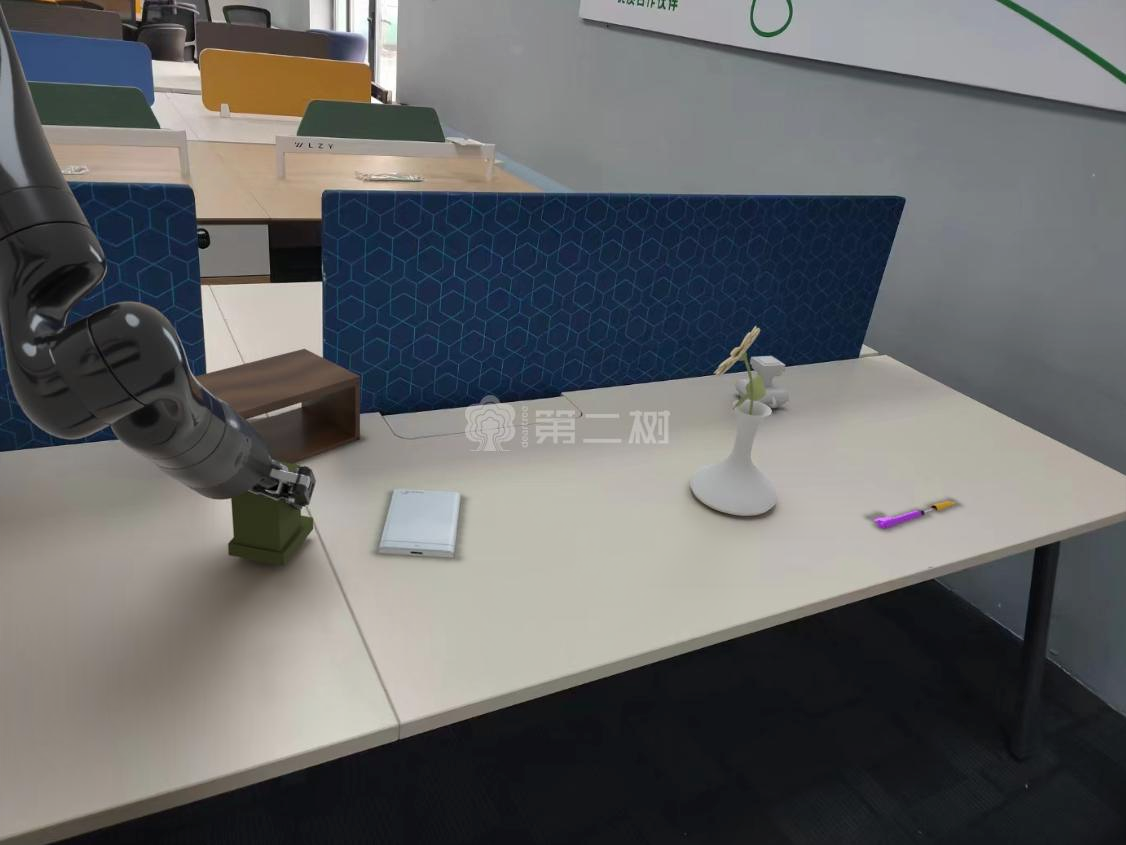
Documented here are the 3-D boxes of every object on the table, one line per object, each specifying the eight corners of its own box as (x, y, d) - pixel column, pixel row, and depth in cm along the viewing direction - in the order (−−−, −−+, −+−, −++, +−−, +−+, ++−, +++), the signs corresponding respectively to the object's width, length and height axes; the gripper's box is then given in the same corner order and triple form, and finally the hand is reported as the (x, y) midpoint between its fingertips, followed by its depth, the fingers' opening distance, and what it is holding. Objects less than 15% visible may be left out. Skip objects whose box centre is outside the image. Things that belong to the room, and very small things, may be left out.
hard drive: (393, 487, 103) (378, 545, 91) (461, 492, 103) (454, 550, 92) (393, 499, 103) (378, 558, 92) (460, 503, 104) (453, 562, 93)
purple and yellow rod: (883, 531, 108) (956, 508, 117) (883, 523, 108) (957, 499, 117) (865, 525, 111) (939, 502, 119) (866, 517, 110) (940, 494, 119)
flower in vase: (720, 471, 119) (757, 302, 108) (790, 506, 112) (836, 330, 101) (662, 498, 111) (696, 318, 100) (733, 538, 104) (778, 350, 93)
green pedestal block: (284, 566, 86) (281, 490, 82) (228, 555, 86) (223, 479, 83) (313, 528, 92) (312, 457, 88) (261, 519, 93) (258, 447, 89)
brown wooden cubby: (172, 455, 107) (165, 383, 102) (306, 413, 121) (304, 348, 117) (226, 493, 100) (220, 418, 96) (360, 443, 115) (360, 376, 111)
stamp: (789, 416, 139) (801, 369, 136) (755, 418, 137) (766, 371, 133) (761, 394, 147) (771, 349, 143) (728, 395, 144) (737, 349, 141)
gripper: (299, 418, 73) (350, 473, 89) (143, 391, 74) (222, 450, 90) (272, 501, 70) (330, 542, 86) (112, 471, 72) (199, 517, 88)
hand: (275, 495), depth 88 cm, fingers closed on green pedestal block, 5 cm apart
